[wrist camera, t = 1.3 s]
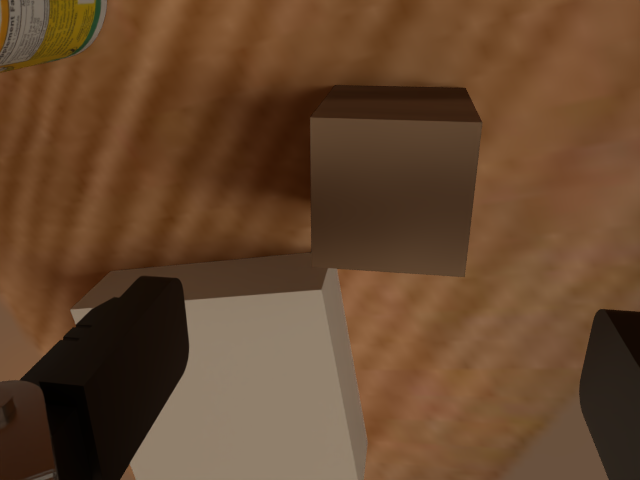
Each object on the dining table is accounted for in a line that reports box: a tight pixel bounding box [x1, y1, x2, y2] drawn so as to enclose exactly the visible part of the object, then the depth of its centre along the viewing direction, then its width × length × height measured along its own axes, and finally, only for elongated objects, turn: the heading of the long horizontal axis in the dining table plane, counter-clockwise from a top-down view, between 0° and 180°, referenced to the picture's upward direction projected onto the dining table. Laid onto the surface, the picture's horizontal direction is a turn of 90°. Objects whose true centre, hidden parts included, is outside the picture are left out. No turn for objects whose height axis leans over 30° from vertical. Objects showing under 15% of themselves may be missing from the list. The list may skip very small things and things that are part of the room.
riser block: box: [70, 252, 368, 480], centre depth 27 cm, size 11×11×4 cm
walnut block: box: [310, 85, 482, 277], centre depth 20 cm, size 5×5×6 cm
